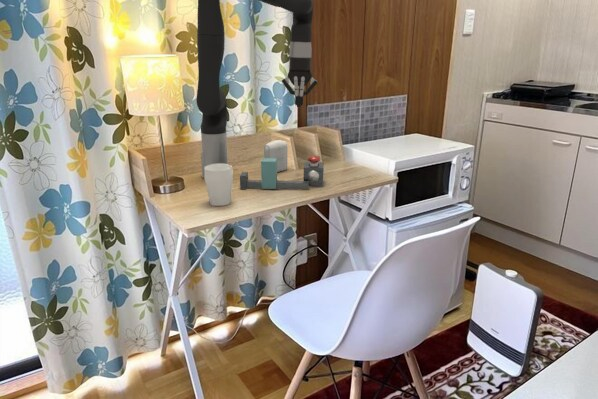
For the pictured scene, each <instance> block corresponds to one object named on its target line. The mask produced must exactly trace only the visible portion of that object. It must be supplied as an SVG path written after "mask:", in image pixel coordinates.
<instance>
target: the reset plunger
mask: <svg viewBox="0 0 598 399" xmlns="http://www.w3.org/2000/svg"><path fill="white" fill-rule="evenodd" d="M307 162H310V166H318V162H321V156H319V155H314V154H313V155H309V156H307Z"/></svg>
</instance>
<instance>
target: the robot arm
mask: <svg viewBox="0 0 598 399" xmlns="http://www.w3.org/2000/svg"><path fill="white" fill-rule="evenodd" d="M220 1H221V0H197V29H196V32H197V33H196V34H197V35H196V37H197V38H196V39H197V41H196V42H197V44H196V46H197V67H198V68H197V70H198V77H197V78H198V79H197V91H196V99H195V100H196V107H197V108H198V110H199V111H200V112H201V114H202V115H201V116H202V118H201V124H200V134H201V137H200V138H201V149H202V150H201V153H200V161H201V176H202V179H205V177H204V174H205V172H204V167H205V166H207V165H210V164H219V163H222V164H229V162H228V161H229V160H228V158H229V157H228V156H229V155H228V141H227V123H228V115H227V114H228V112H227V111H228V110H227V108H228V107H227V106H228V105H227V97H226V94H225V92H224V91H223V90H222V89H221V87H220V76H221V75H220V74H221V67H222V64H223V59H224V56H225V55H224V52H225V40H226V38H225V24H224V19H223V16H222V15H223V14H222V10H221V5H220V4H221V2H220ZM258 1H259V2H262V3H264V4H266V5H267V4H268V5H270V6H273V7H275V8H276V7H277V8H281V9H283V10H286V11H288V12H290V13H292V24H291V27H290V28H291V29H290V43H289V44H290V45H289V54H288V55H289V61H288V62H289V63H288V64H289V65H288V67H289V68H288V69H289V70H288V73H287V76H286V77H285V78H283V79H282V80H281V83H282V84H283V85H284V87H285V89H287V91H288V93H289V95H293V96H294V105H295V106H296V107H297V108H301V107H302V106H303V105H304V96H307V95H309V93H311V91H312V90H313V89H314V88H315V86H316V85H317V84H318V80H317V79H315V78H314V77H313V74H312V51H313V50H312V34H313V33H312V23H313V14H314V13H313V12H314V0H258ZM309 82H310V85H309V86H308V88H306V90H305V87H306V86H307V85H308V83H309ZM289 83H291V84H292V85H293V86H294V89H293V88H292V86H291V85H290V84H289Z"/></svg>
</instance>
